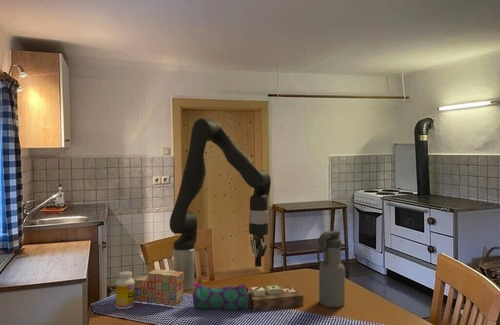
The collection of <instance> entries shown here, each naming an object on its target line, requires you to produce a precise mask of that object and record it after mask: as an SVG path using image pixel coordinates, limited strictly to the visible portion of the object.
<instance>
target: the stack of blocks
mask: <svg viewBox="0 0 500 325" xmlns="http://www.w3.org/2000/svg"><path fill="white" fill-rule="evenodd" d="M131 278H132V279H134V282H135V284H134V301H139V302H147V303H156V304H164V305H170V306H177V305H178V304H180V303H181V302H184V291H183V284H184V280H183V278H184V272H179V271H173V270H172V269H170V270H169V269H158V268H157V269H156V268H155V269H154V270H153V269H152V271H150V272H148V273H147V275H143V274H142V275H140V274H133V275H132V277H131Z"/></svg>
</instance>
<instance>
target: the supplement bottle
mask: <svg viewBox="0 0 500 325" xmlns="http://www.w3.org/2000/svg"><path fill="white" fill-rule="evenodd" d="M132 276H133V271H129V270H124V271H120V272H119V273H118V277H119V278H118V279H117V280H116V282H115V308H116V309H117V308H118V309H117V310H121V309H125V310H127V309H126V308H129V307H132V306H133V305H134V306H135V303H134V284H135V282H134V279H132V278H131V277H132ZM134 306H133V307H134ZM133 307H132V308H133Z"/></svg>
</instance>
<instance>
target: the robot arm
mask: <svg viewBox="0 0 500 325" xmlns="http://www.w3.org/2000/svg"><path fill="white" fill-rule="evenodd" d="M207 142H212V143H213V144H215V145H216V146H217V147H218V148H219V149H220V150H221V151H222V153H223V155H224V157H225V159H226V161H227V162H228V163H229V164H230V165H231V166H232V167H233V168H234V170H236V171H237V172H238V173H239V174H240V176H241V177H242V179H243V181H244V182H245V183H246V184H247V185H248V186H249V187H251V188H252V189H253V194H252V195H250V198H249V215H248V233H249V234H250V235H252V238H251V239H250V244H251V245H250V246H251V249H252V250H251V251H252V254H253V256H254V266H255V268H261V267H262V258H263V257H265V254H266V250H267V248H268V246H267V244H265V242H266V240H265V236H266V235H268V234H269V211H268V210H269V200H268V199H269V195H270V190H271V185H272V184H271V183H272V182H271V181H272V178H271V175H270V174H269V172H267V170H261V169H260V170H259V169H257V168H256V167H255V166H254V161H253V160H252V159H251V158H250V157H249V156H248V155H247V154H246V153H245V152H244V151H243V150H242V149H240V147H239V146H237V145H236V143H234V141H233V140H232V139H231V137H229V135H228V134H227V133H226V131H225V130H224V129H223V128H222V126H221V125H220V123H218V121H216V120H215V119H211V118H198V119H197V120H195V122H194V123H193V124H192V129H191V135H190V141H189V148H188V153H187V158H186V162H185V166H184V170H183V172H182V173H183V174H182V177H181V183H180V186H179V191H178V194H177V197H176V201H175V204H174V206H173V209H172V212H171V215H170V218H169V229H170V231H171V232H172V233H173V234H175V235H178V234H179V235H180V236H179V237H178V238H177V239H176V240H175V241H174V242H173V246H172V249H173V253H172V254H173V255H172V259H173V260H172V266H171V267H172V268H171V270H173V271H179V272H184V278H183V280H184V284H183V292H184V291H190V290H193V289H195V285H193V283H194V282H195V254H196V253H195V250H196V249H195V247H196V246H195V245H196V243H197V236H198V218H197V215H196V214H195V212H193V211H191V210H189V207H190V205H191V203H192V202H193V200H195V198H196V197H197V196H198V195H199V193H200V191H201V190H202V188H203V185H204V182H205V178H206V175H207V174H206V172H207V170H206V163H205V155H204V154H205V149H206V145H207Z"/></svg>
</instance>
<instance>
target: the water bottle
mask: <svg viewBox="0 0 500 325" xmlns="http://www.w3.org/2000/svg"><path fill="white" fill-rule="evenodd" d="M340 235H341V231H338V230H329V231H324V232H322V233H321V234H320V236H319V238H318V245H319V246H320V247H319V249H317V251H316V252H317V255H316V260H317V262H319V263H320V264H319V268H318V269H319V270H318V273H319V274H318V277H319V278H318V280H319V281H318V302H319V303H320V305H322V306H323V307H326V308H332V309H333V308H341V307H343V306H344V305H345V302H346V301H345V298H346V296H345V292H346V290H345V289H346V288H345V287H346V286H345V285H346V283H345V282H346V280H345V279H346V278H345V276H346V274H345V272H346V268H345V265H344V264H343V263H341V256H342V255H341V254H342V253H341V249H342V240H341V239H340ZM320 252H322V253H323V261H322V260H321V259H320Z"/></svg>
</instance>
